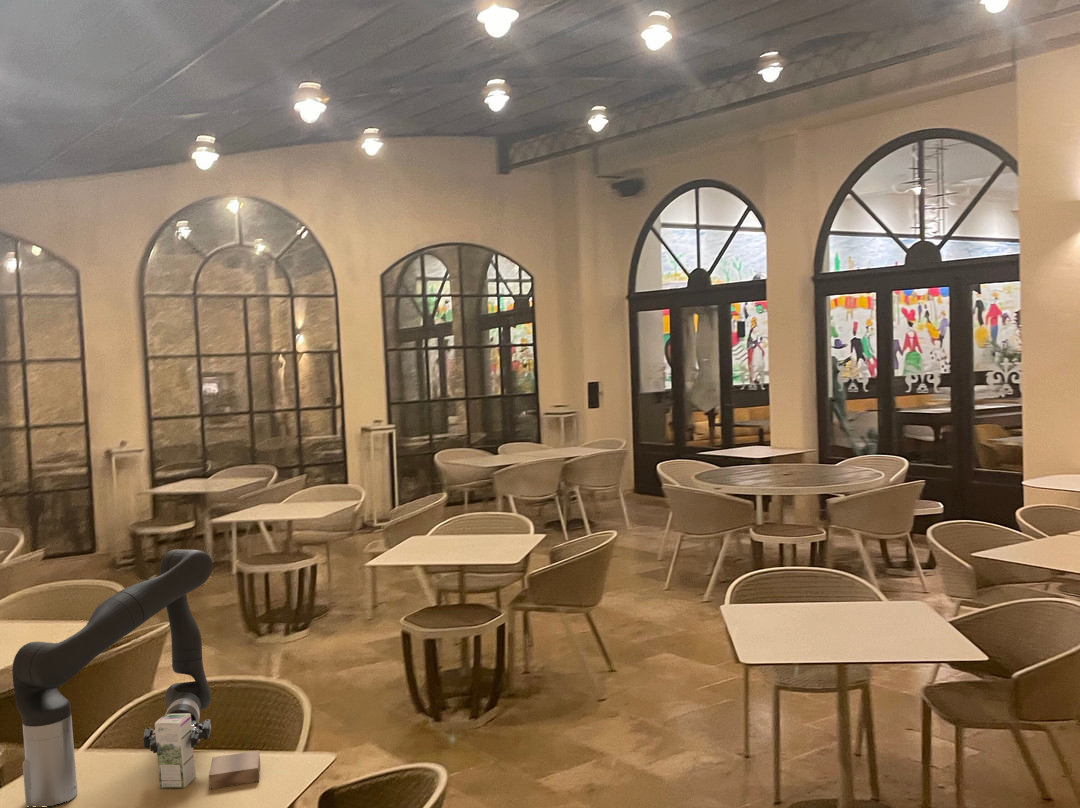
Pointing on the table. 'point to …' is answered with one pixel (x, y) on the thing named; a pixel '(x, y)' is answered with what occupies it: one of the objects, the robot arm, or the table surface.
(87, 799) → the table surface
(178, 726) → the syrup box
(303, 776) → the table surface
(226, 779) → the brown box
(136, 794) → the table surface
